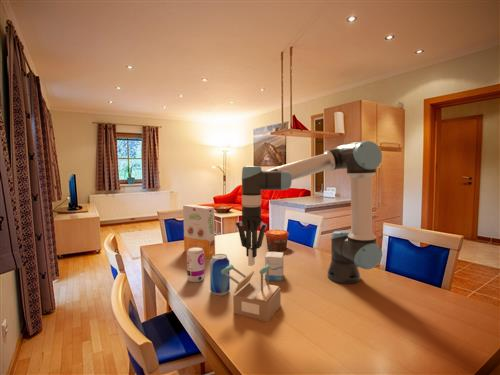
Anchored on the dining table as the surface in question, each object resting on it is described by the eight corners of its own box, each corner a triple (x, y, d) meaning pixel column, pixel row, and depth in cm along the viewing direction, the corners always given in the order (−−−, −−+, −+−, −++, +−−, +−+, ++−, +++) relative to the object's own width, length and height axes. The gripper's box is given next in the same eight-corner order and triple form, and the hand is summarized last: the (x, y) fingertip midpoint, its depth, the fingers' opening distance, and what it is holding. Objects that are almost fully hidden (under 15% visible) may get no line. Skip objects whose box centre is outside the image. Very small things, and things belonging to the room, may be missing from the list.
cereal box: (215, 255, 174) (214, 207, 172) (207, 258, 169) (206, 208, 167) (192, 248, 188) (190, 204, 186) (184, 251, 184) (183, 205, 181)
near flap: (279, 286, 111) (279, 265, 111) (266, 301, 99) (266, 278, 98) (266, 284, 114) (266, 263, 113) (252, 298, 101) (252, 275, 101)
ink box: (282, 281, 134) (282, 257, 133) (264, 280, 136) (264, 256, 135) (283, 274, 142) (283, 252, 142) (267, 273, 144) (267, 251, 143)
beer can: (214, 298, 118) (213, 260, 117) (207, 290, 125) (207, 255, 124) (232, 293, 122) (232, 257, 120) (225, 286, 129) (224, 252, 128)
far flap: (255, 270, 115) (238, 258, 118) (239, 282, 102) (221, 269, 105) (249, 280, 116) (233, 269, 119) (233, 294, 104) (215, 281, 107)
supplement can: (207, 277, 139) (207, 247, 138) (197, 284, 132) (197, 252, 131) (194, 275, 143) (193, 246, 142) (183, 281, 135) (183, 250, 134)
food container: (290, 251, 181) (290, 234, 180) (265, 251, 181) (265, 234, 181) (287, 244, 197) (287, 229, 196) (264, 244, 197) (264, 229, 196)
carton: (280, 305, 111) (280, 288, 110) (268, 322, 99) (268, 302, 99) (248, 298, 117) (248, 282, 116) (233, 313, 105) (233, 295, 105)
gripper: (270, 205, 110) (270, 264, 112) (241, 203, 116) (241, 259, 118) (263, 207, 104) (263, 270, 105) (232, 205, 109) (232, 265, 111)
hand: (251, 264), depth 112 cm, fingers closed
